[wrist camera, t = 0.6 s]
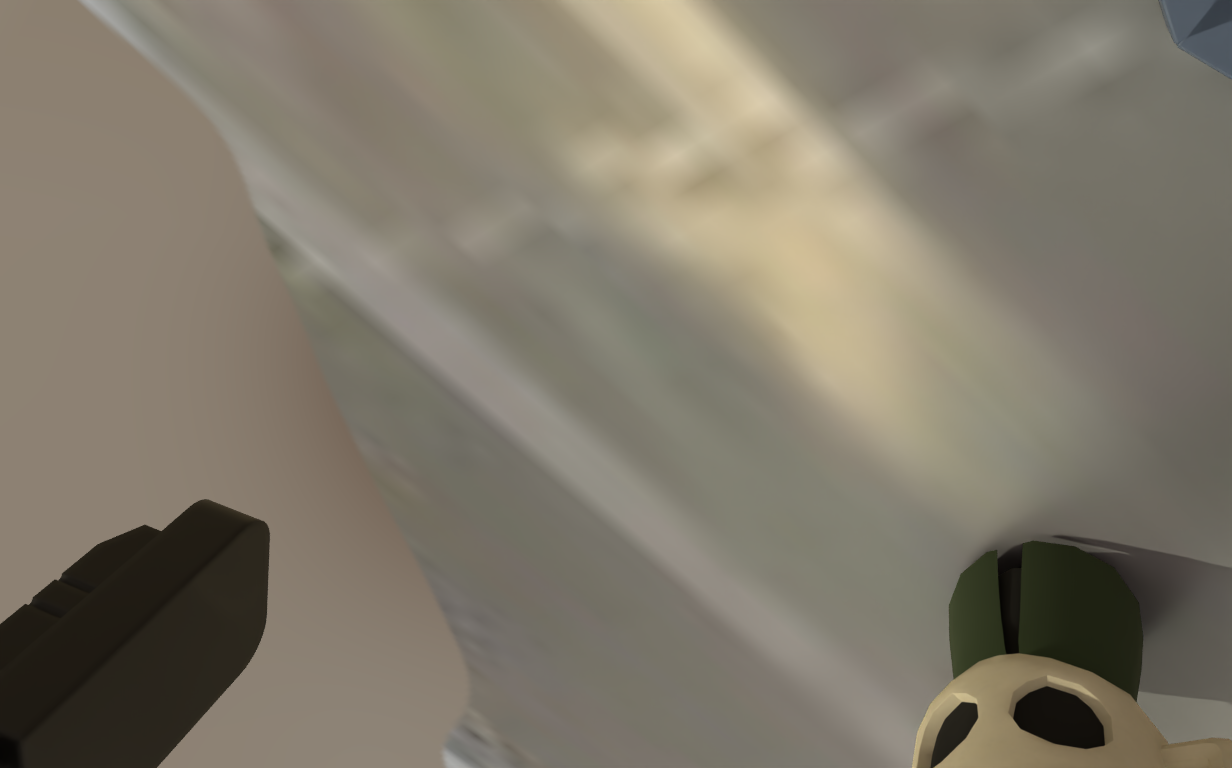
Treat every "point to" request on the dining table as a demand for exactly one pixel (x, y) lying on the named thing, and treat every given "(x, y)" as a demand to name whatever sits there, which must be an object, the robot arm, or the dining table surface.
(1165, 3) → the slate ring
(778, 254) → the dining table surface
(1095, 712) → the character mug
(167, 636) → the robot arm
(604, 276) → the dining table surface
